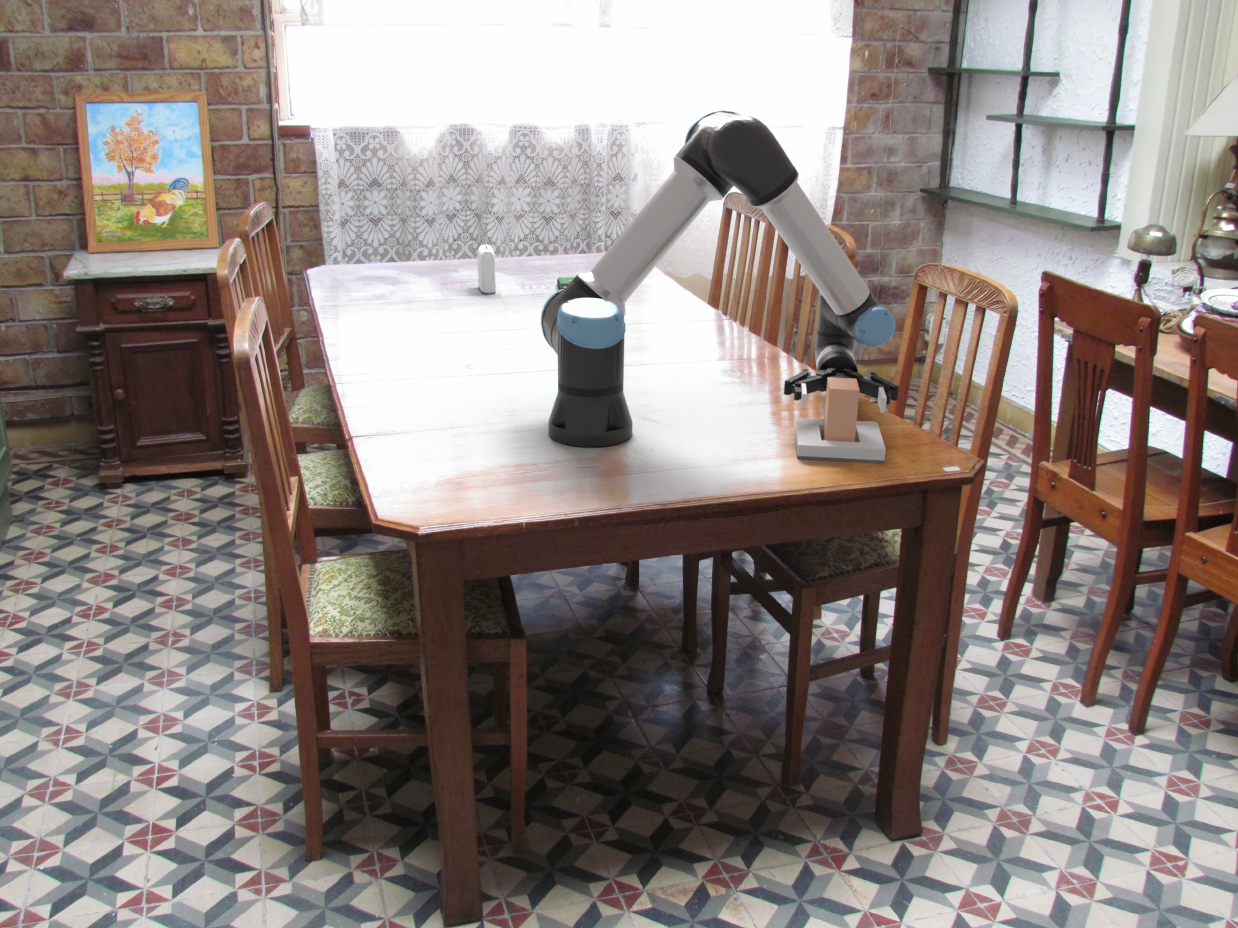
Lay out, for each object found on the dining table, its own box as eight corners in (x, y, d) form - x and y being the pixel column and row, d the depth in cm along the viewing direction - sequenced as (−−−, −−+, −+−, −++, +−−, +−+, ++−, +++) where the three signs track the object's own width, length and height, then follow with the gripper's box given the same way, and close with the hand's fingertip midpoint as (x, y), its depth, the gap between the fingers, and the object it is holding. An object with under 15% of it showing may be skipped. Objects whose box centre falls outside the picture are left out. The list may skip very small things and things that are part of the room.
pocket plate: (797, 458, 195) (798, 444, 194) (794, 430, 208) (795, 417, 207) (884, 463, 193) (885, 449, 192) (876, 435, 207) (877, 421, 206)
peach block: (824, 449, 197) (829, 388, 194) (822, 436, 204) (827, 377, 200) (853, 451, 197) (859, 390, 193) (850, 437, 203) (856, 378, 200)
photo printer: (477, 286, 321) (475, 242, 316) (492, 285, 322) (491, 241, 317) (481, 294, 311) (479, 248, 307) (496, 293, 312) (495, 248, 308)
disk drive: (597, 297, 312) (592, 285, 326) (597, 287, 311) (592, 276, 325) (560, 298, 311) (556, 286, 325) (559, 288, 310) (556, 276, 324)
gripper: (901, 392, 217) (915, 427, 197) (769, 385, 220) (769, 420, 200) (905, 353, 214) (919, 386, 195) (772, 347, 217) (772, 379, 197)
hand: (843, 403), depth 197 cm, fingers open, 13 cm apart
